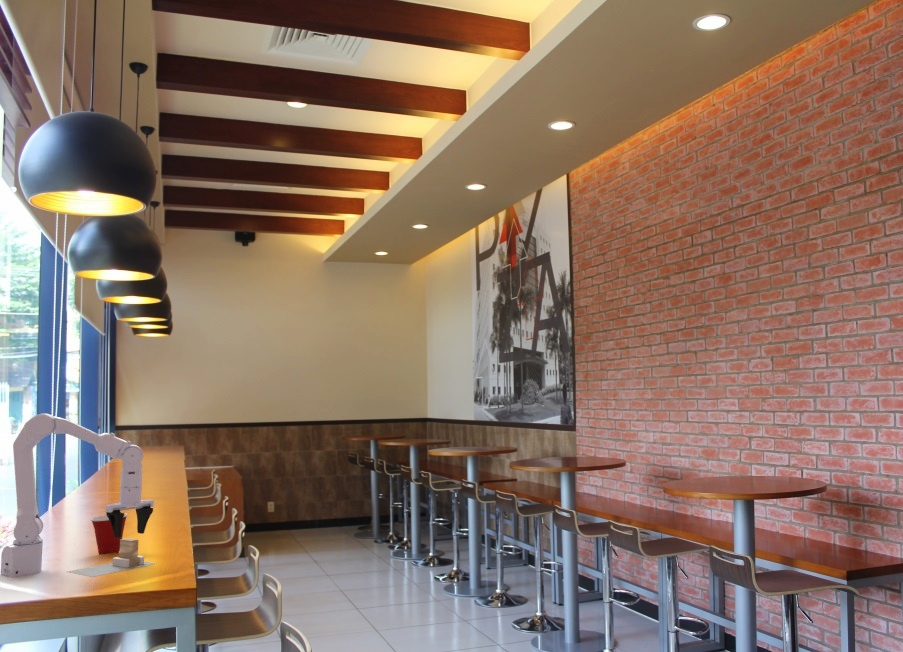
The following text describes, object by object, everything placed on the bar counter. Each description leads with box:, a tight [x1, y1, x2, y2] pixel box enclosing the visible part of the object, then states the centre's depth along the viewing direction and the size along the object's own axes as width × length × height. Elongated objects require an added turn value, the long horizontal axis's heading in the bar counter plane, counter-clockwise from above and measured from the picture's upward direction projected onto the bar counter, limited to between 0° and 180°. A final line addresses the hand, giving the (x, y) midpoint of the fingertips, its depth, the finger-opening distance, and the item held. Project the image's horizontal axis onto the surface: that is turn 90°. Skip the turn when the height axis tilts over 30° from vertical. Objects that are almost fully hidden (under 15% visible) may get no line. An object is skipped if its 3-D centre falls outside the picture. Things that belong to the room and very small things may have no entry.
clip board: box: [66, 555, 157, 578], centre depth 221 cm, size 20×12×3 cm, turn 147°
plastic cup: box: [90, 512, 128, 556], centre depth 246 cm, size 11×11×12 cm
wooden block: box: [119, 537, 139, 566], centre depth 226 cm, size 2×5×7 cm, turn 57°
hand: (129, 535), depth 226 cm, fingers open, 7 cm apart
